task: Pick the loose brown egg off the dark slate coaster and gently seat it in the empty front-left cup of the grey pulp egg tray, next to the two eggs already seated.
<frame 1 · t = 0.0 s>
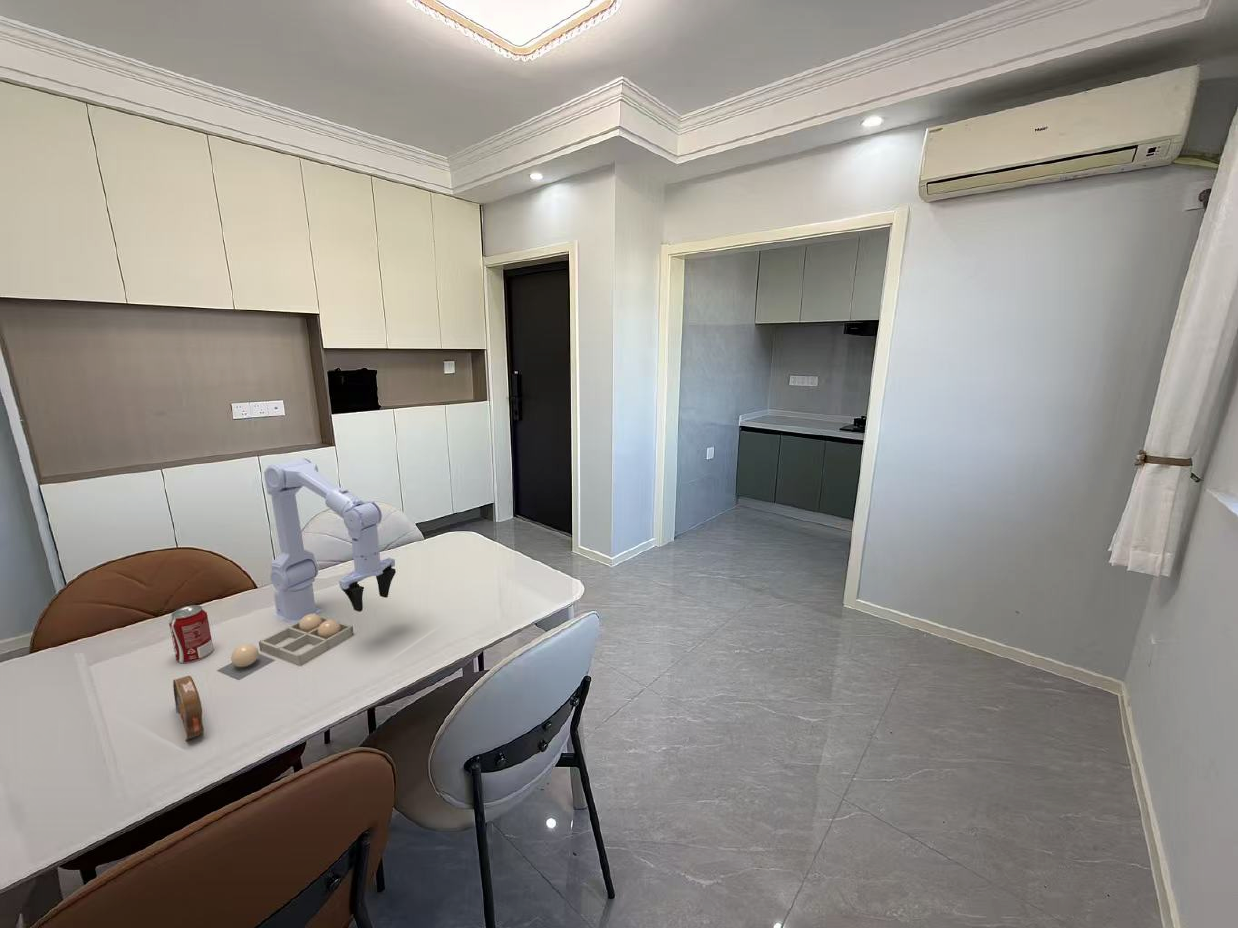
hand: (371, 603, 124), 10 cm above the table, fingers open, 7 cm apart
slate coaster: (246, 667, 115), on the table
egg tray: (308, 644, 124), on the table
tin: (192, 725, 97), on the table
seated egg B: (330, 638, 126), resting on egg tray
seated egg A: (311, 632, 128), resting on egg tray
soda can: (195, 657, 118), on the table
loose egg: (246, 665, 115), point 1 cm above the table, touching slate coaster
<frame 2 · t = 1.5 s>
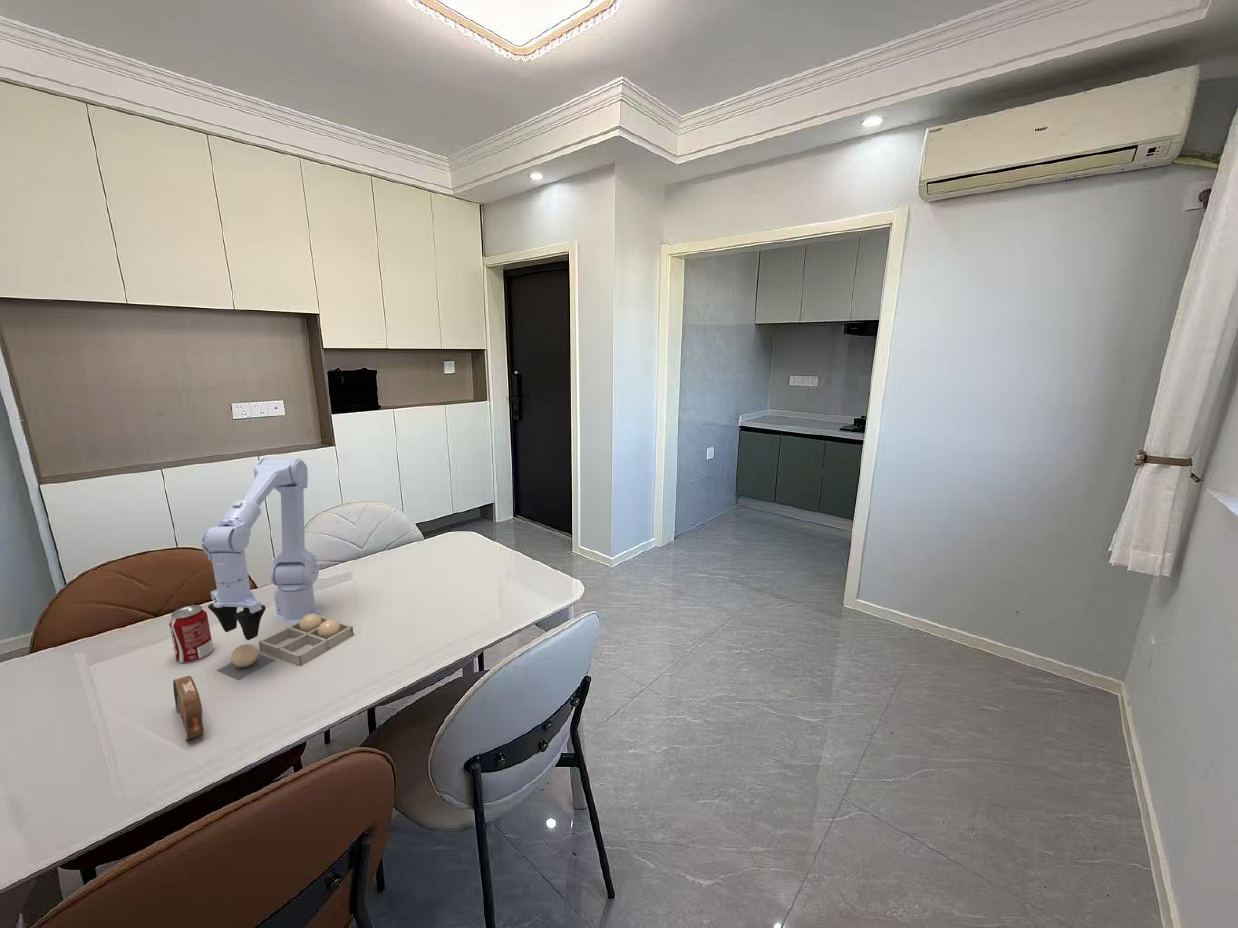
hand: (241, 633, 113), 9 cm above the table, fingers open, 7 cm apart
nothing on the table moved.
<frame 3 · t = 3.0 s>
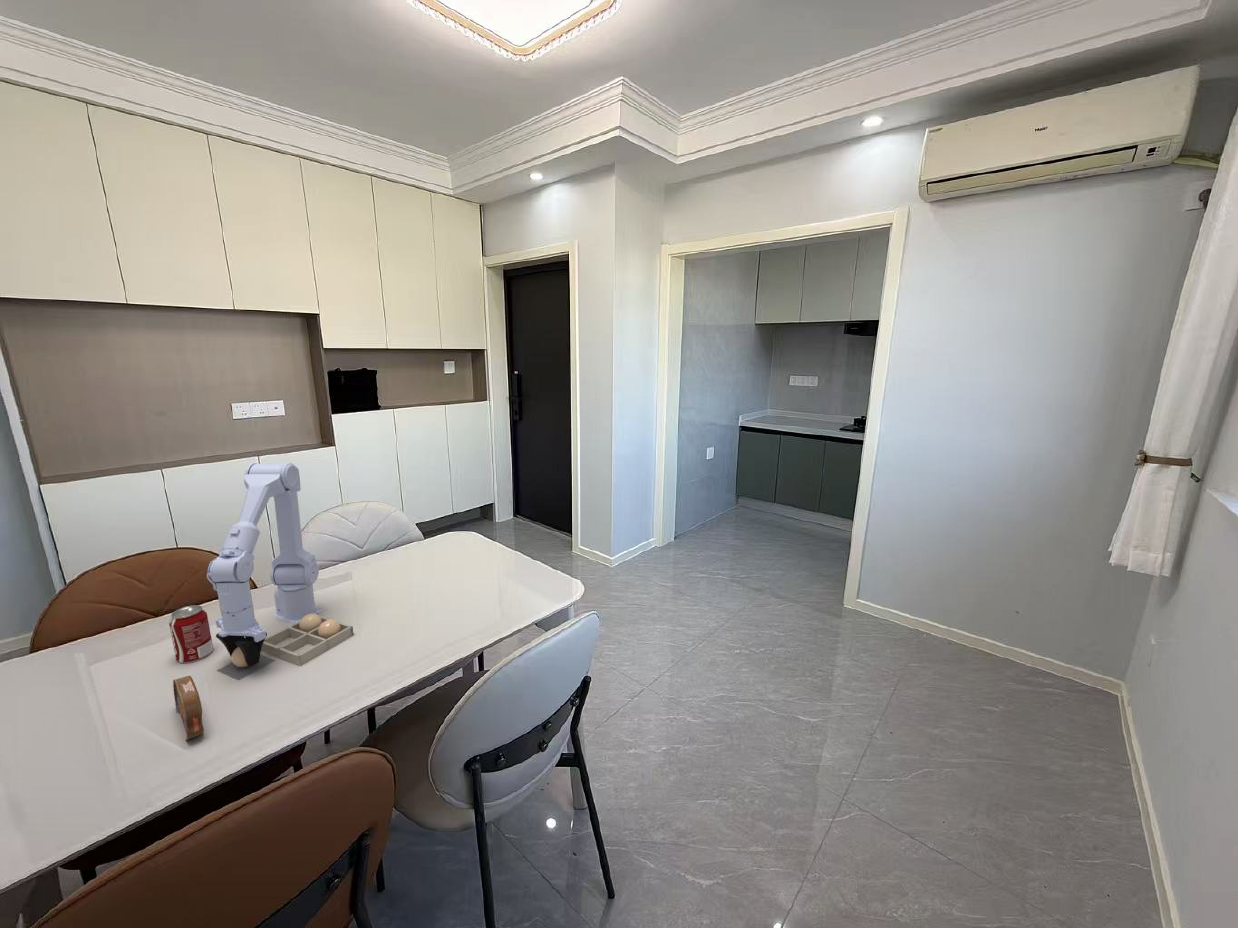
hand: (245, 660, 114), 2 cm above the table, fingers closed on loose egg, 5 cm apart
loose egg: (246, 665, 115), point 1 cm above the table, touching gripper, slate coaster
everything else where it was.
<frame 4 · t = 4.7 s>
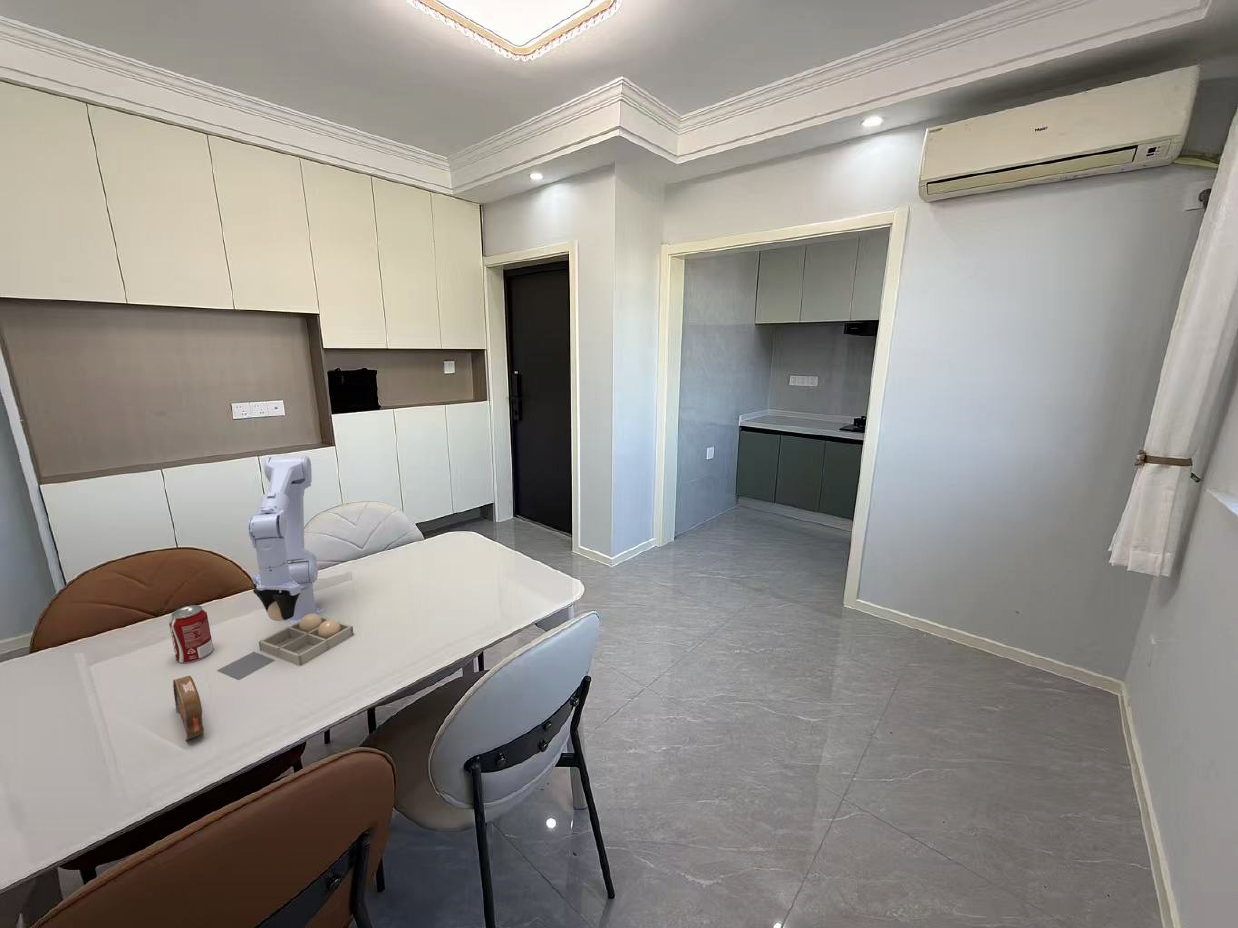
hand: (280, 615, 120), 9 cm above the table, fingers closed on loose egg, 5 cm apart
loose egg: (281, 619, 120), point 8 cm above the table, touching gripper
everything else where it was.
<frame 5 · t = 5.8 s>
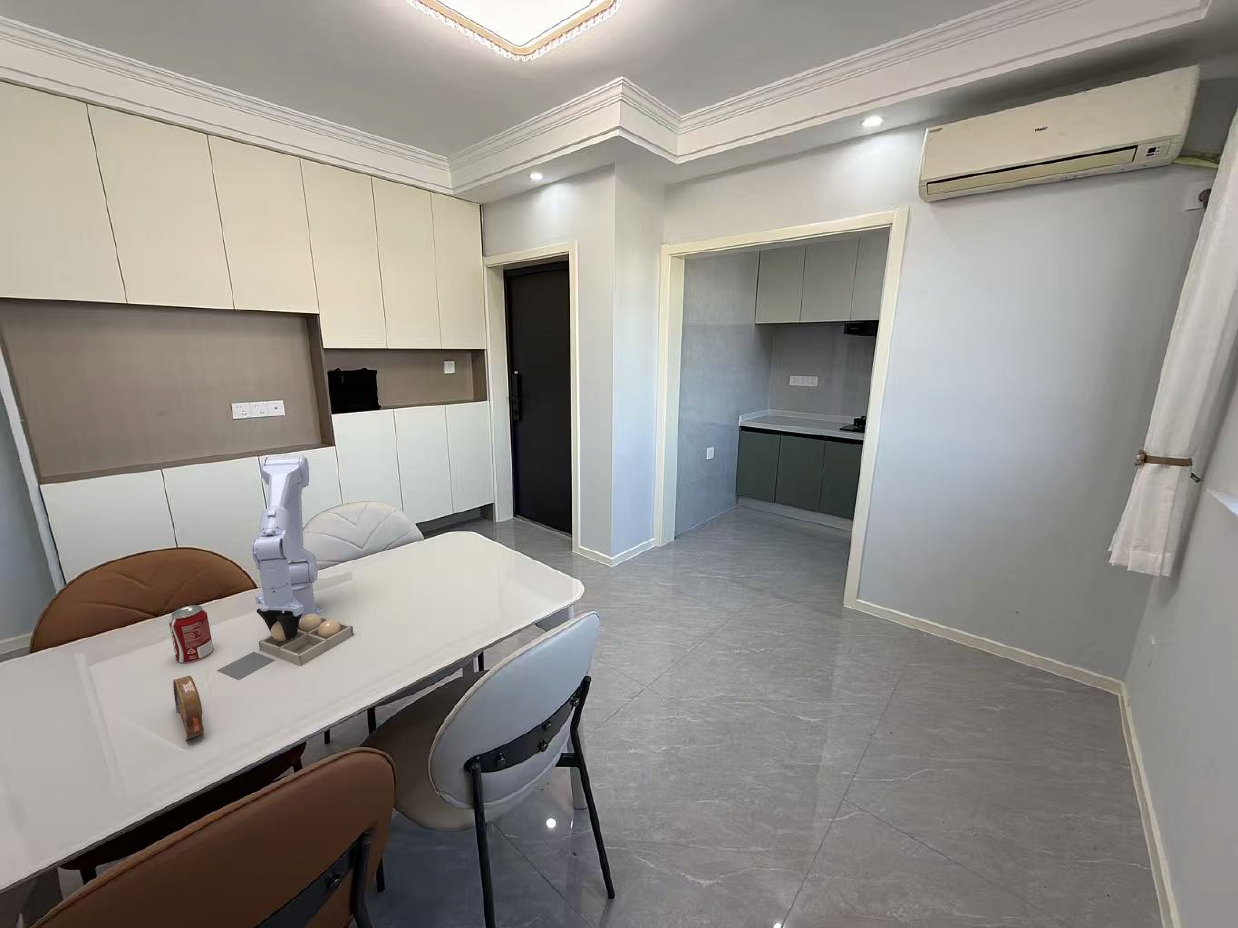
hand: (283, 635, 121), 4 cm above the table, fingers closed on loose egg, 5 cm apart
loose egg: (284, 639, 122), point 3 cm above the table, touching gripper
everything else where it was.
when the fingers open (4 cm above the table, at t = 6.6 s): loose egg drops 2 cm, resting on egg tray.
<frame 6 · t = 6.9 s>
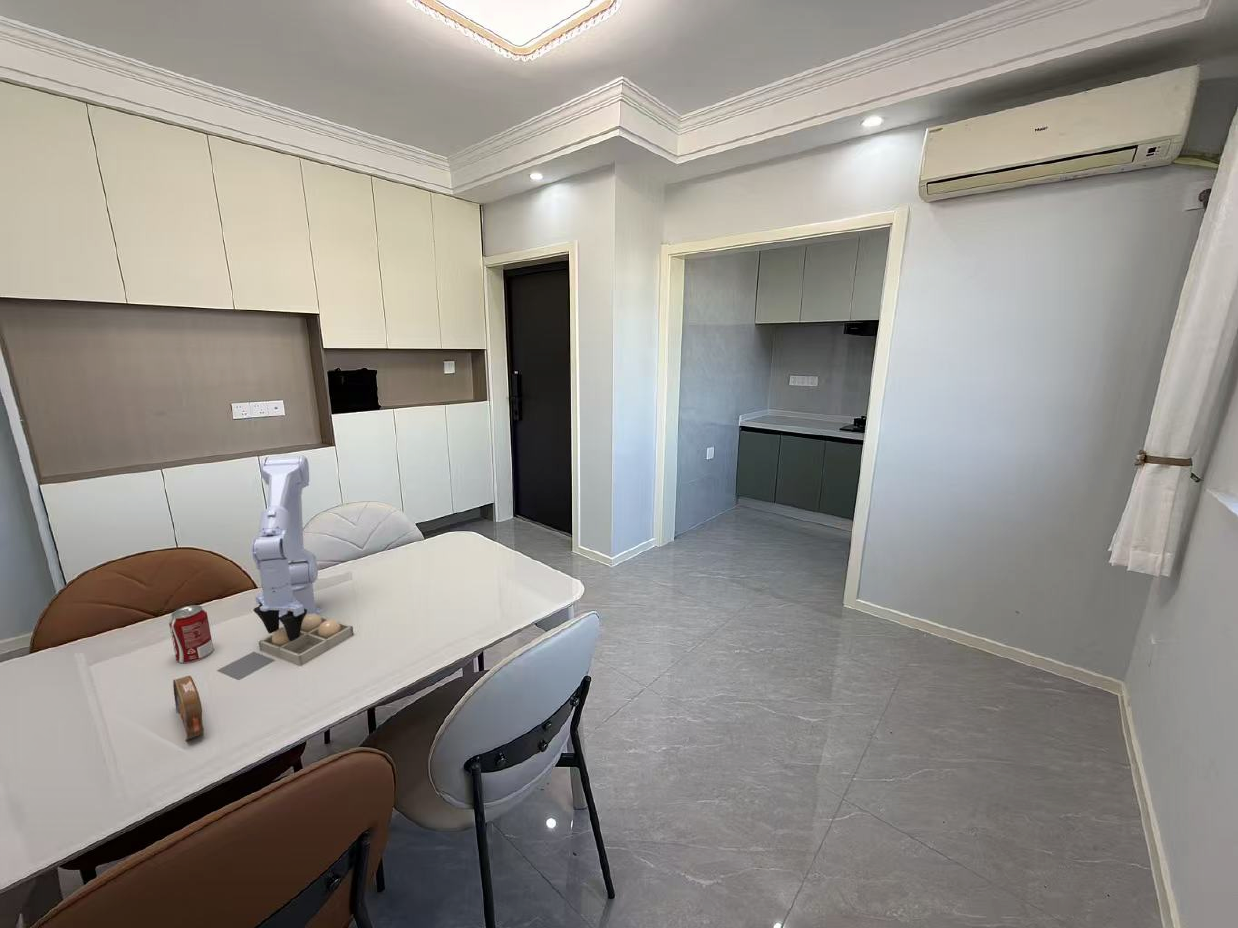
hand: (283, 635, 121), 4 cm above the table, fingers open, 7 cm apart
loose egg: (285, 646, 122), resting on egg tray
everything else where it was.
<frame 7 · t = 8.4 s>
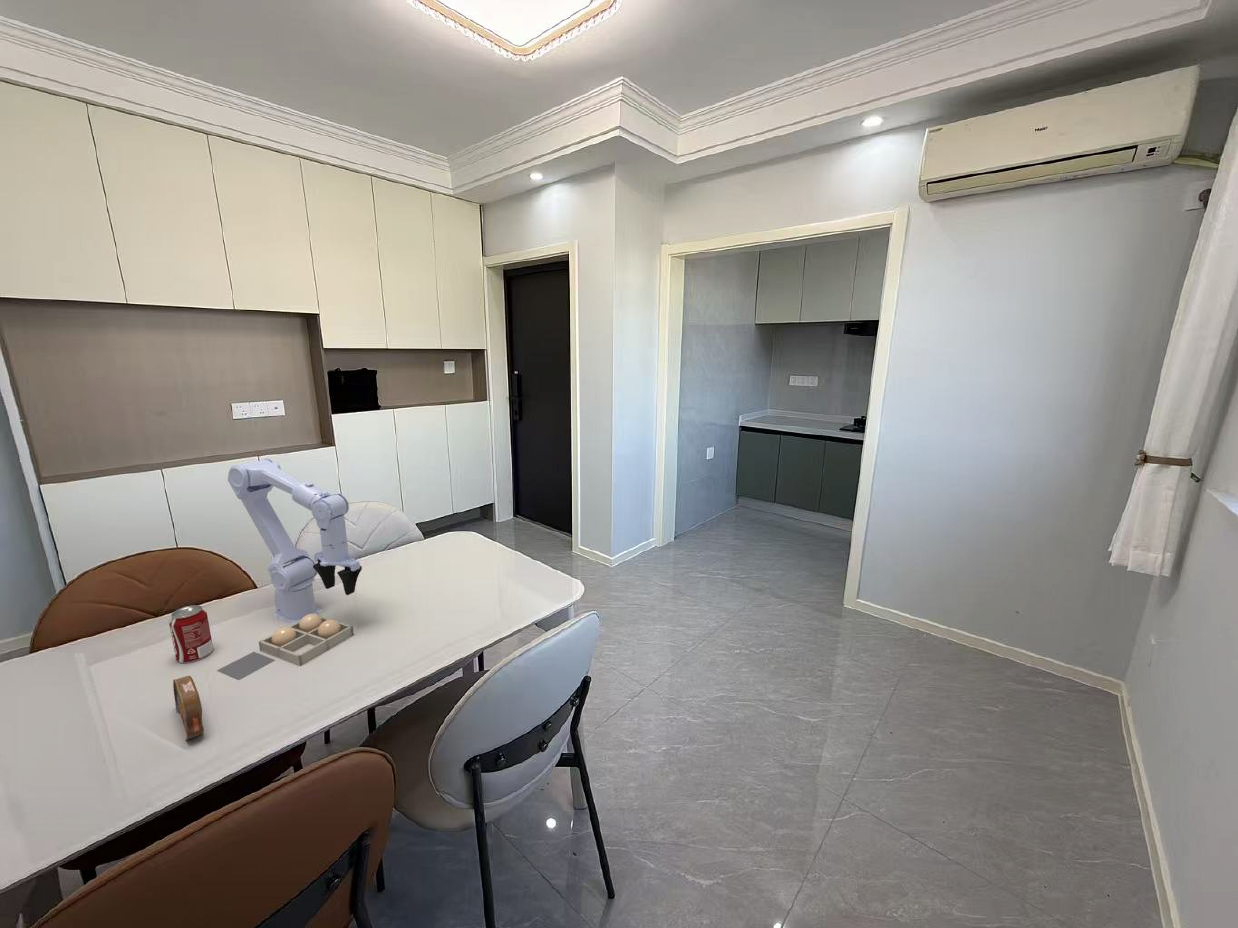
hand: (340, 590, 131), 10 cm above the table, fingers open, 7 cm apart
nothing on the table moved.
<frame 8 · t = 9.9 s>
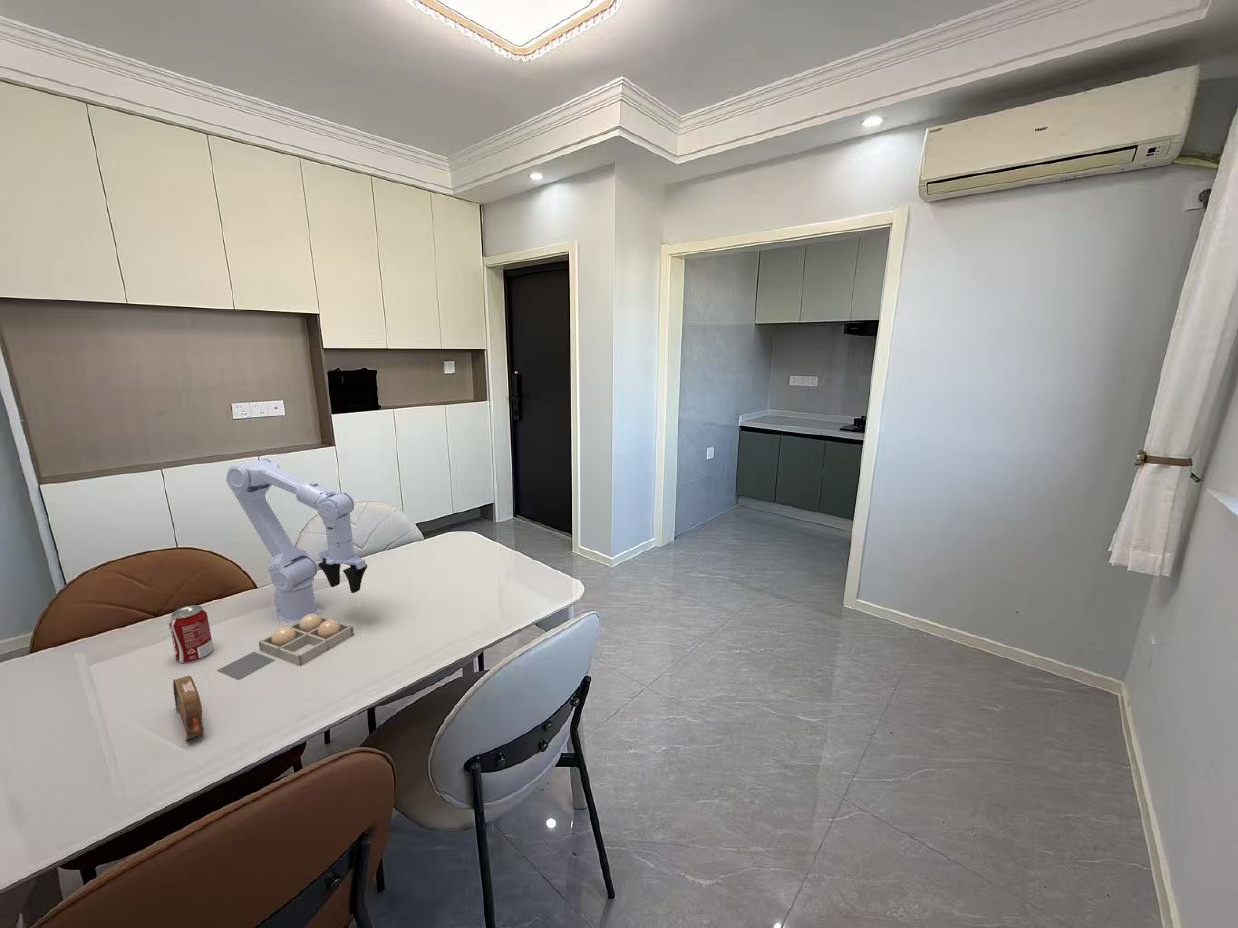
hand: (345, 588, 132), 10 cm above the table, fingers open, 7 cm apart
nothing on the table moved.
at the end: loose egg 0.0 cm from the target spot on the egg tray, point 0.5 cm above the egg tray's base; the gripper is holding nothing; seated egg A moved 0.1 cm from its start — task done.
